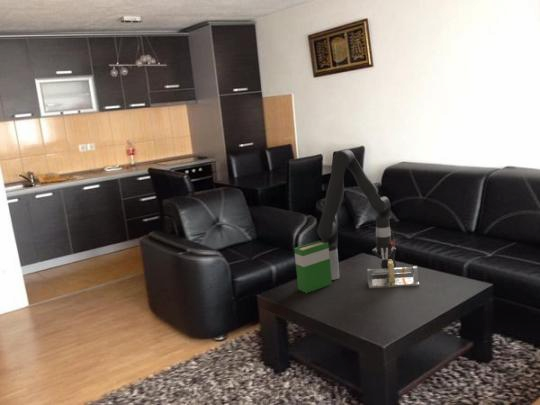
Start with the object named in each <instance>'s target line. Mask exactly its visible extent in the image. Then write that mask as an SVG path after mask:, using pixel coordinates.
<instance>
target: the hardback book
mask: <svg viewBox="0 0 540 405" xmlns="http://www.w3.org/2000/svg"><path fill="white" fill-rule="evenodd" d="M293 249H294V260H295V269H296V270H295V271H296V279H297V280H296V281H297V290H298V289H299V290H298V291H300V290H301V291H300V292H302V291H303V293H304V292H305V294H308V292H309V293H311V291H312V292H314V291H317V290H320V289H322V288H325V287H328V286H330V285H331V286H332V284H333V282H332V281H333V280H331V269H330V257H329V246H328V243H322V240H317V241H314V242H310V243H307V244H304V245H299V246H297V247H294V248H293Z"/></svg>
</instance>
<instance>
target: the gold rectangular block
mask: <svg viewBox="0 0 540 405" xmlns="http://www.w3.org/2000/svg"><path fill="white" fill-rule="evenodd" d="M388 268H389V274H387V277H388V278H389V281H390V283H395V278H396V277H395V275H396V274H394V264H393V261H392V259H388Z"/></svg>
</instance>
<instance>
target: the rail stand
mask: <svg viewBox="0 0 540 405" xmlns="http://www.w3.org/2000/svg"><path fill="white" fill-rule="evenodd" d="M366 271H367V284H368V288H369V289H376V288H377V289H378V288H379V289H381V288H397V287H414V286H415V287H416V286H420V282H419V275H418V274H419V273H418V271H419V270H418V266H417V265H413V266H410V267H409V266H408V267H407V266H405V267H396V268H394V275H396V274H412V276H408V277H407V276H406V277H395V283H390V281H389V277H388V278H373V277H372V276H378V275H380V276H381V275H388V274H389V268H388V269H382V268H372V269H371V268H367V270H366Z"/></svg>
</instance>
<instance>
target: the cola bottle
mask: <svg viewBox="0 0 540 405" xmlns="http://www.w3.org/2000/svg"><path fill="white" fill-rule="evenodd" d="M389 224H390V221H389ZM390 232H391V244H392V247H394V248H396V247H395V246H396V245H395V244H396V243H395V234H394V232H393V230H392V229H391V228H390ZM391 249H392V248H391ZM391 251H392V250H390V251H389V252H388V255H389V254H390V252H391ZM395 255H396V252H395V253H394V254H393V256H392V257H391V258H389V259H392V261H393V264H394V268H397V263H396V260H395ZM380 256H382V255H381V254H380ZM384 258H385V253H384ZM380 267H381V268H380V269H388V265H387V266H384V265H383V264H382V261H381V262H380Z"/></svg>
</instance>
